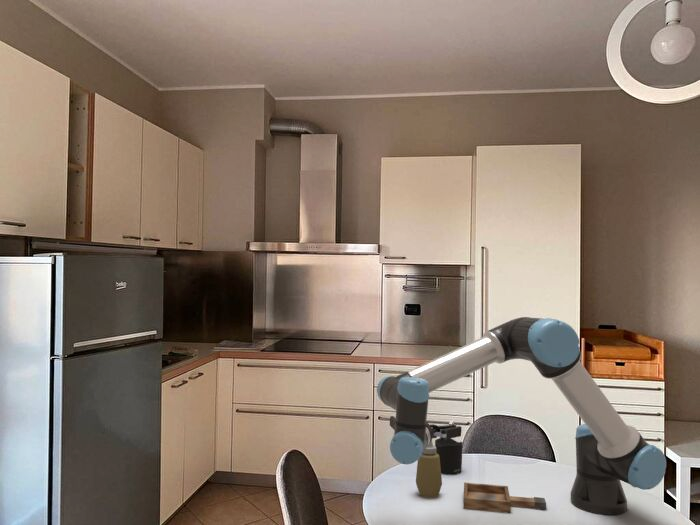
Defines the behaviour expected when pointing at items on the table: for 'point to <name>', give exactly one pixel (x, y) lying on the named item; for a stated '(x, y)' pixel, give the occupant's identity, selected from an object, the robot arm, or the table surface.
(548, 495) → the table surface
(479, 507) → the wooden tray with handle
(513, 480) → the table surface
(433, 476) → the squeeze bottle
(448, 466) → the pen holder
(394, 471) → the table surface
